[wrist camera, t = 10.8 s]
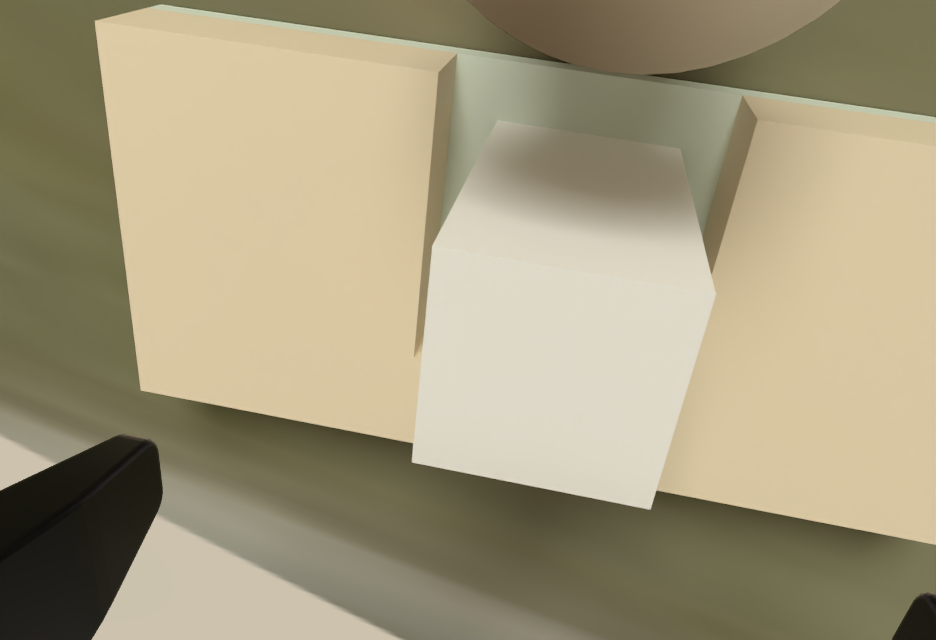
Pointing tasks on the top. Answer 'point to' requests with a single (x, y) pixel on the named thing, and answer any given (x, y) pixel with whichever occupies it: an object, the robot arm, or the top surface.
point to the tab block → (563, 315)
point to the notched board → (430, 201)
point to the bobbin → (650, 30)
